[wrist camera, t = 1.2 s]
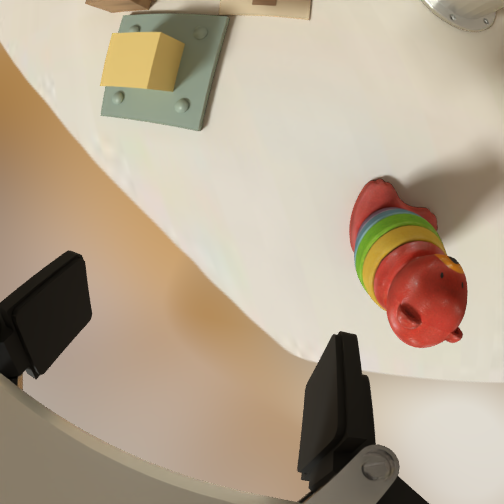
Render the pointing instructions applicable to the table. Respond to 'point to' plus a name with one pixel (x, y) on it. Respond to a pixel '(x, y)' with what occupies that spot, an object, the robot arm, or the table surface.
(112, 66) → the mustard cube
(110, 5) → the walnut cube
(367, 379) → the robot arm
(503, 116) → the table surface
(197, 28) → the baseplate
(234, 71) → the table surface
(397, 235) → the stacking bear
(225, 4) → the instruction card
